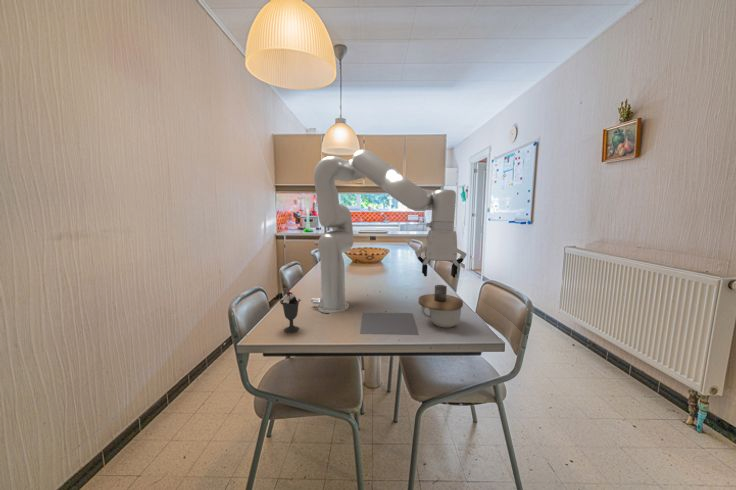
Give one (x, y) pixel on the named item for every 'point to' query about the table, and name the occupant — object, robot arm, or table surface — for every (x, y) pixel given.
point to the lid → (440, 300)
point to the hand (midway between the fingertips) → (439, 276)
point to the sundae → (290, 310)
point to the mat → (388, 324)
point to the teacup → (443, 317)
